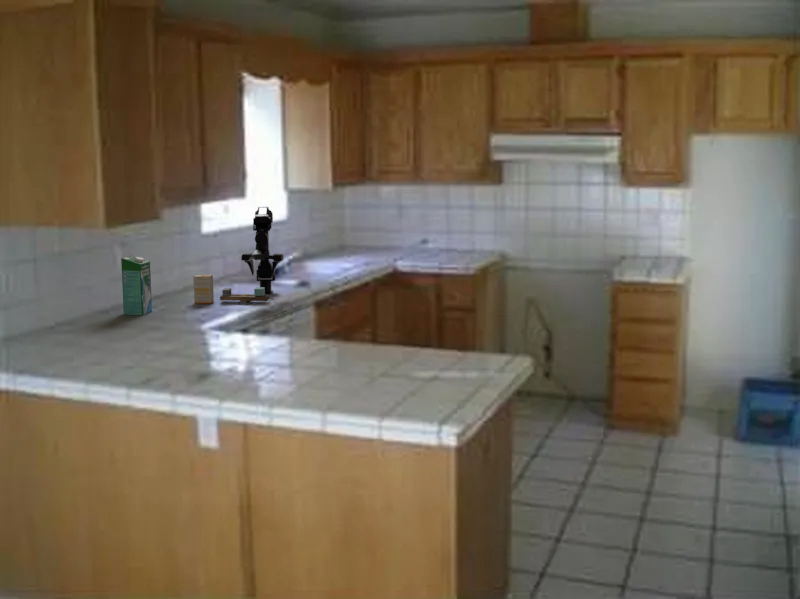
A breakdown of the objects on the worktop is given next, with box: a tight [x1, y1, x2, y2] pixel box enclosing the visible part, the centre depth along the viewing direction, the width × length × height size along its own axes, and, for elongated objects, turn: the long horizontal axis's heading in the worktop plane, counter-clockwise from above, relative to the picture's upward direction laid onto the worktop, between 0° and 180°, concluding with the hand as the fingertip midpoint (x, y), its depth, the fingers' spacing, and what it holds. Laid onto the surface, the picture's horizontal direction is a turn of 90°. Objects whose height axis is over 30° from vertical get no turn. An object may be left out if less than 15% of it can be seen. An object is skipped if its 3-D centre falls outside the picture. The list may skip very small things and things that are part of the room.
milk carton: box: [120, 255, 153, 316], centre depth 405 cm, size 9×9×25 cm
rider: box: [254, 286, 266, 296], centre depth 432 cm, size 5×4×5 cm
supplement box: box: [192, 274, 215, 305], centre depth 431 cm, size 8×5×13 cm, turn 84°
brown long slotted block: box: [219, 287, 270, 305], centre depth 433 cm, size 9×22×6 cm, turn 88°
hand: (262, 275), depth 429 cm, fingers open, 9 cm apart
